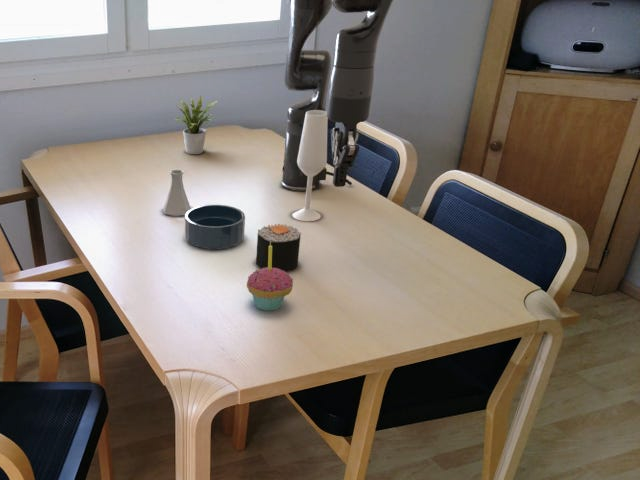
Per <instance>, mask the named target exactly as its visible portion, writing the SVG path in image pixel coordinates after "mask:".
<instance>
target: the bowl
mask: <svg viewBox="0 0 640 480" xmlns="http://www.w3.org/2000/svg"><path fill="white" fill-rule="evenodd" d="M245 229H246V215H245V213H244V212H243V211H242V210H241V209H239V208H237V207H235V206H230V205H225V204H205V205H199V206H196V207H193V208H191V210H189V211H188V212H187V213H186V214H185V215H184V237H185V240H186V241H187V242H188V243H189V244H191V245H193V246H195V247H199V248H203V249H211V250H220V249H221V250H222V249H226V248H231V247H234V246H237V245H239V244H240V243H242V242H243V240H244V238H245V231H246V230H245Z"/></svg>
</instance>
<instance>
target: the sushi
mask: <svg viewBox="0 0 640 480" xmlns="http://www.w3.org/2000/svg"><path fill="white" fill-rule="evenodd" d="M301 236H302V232H301V231H299V229H298V228H297V227H293V225H290V224H289V225H287V224H280V223H278V224H277V223H275V224H274V225H272V224H271V225H270V224H268V225H267V226H266V225H264V226H263V227H261V228H259V229H257V241H256V257H255V263H256V266H258V267H259V269H260V268H261V269H262V268H265V267H268V252H269V246H270V241H271V246H272V268H278V269H280V270H283V271H285V272H286V273H288V272H291V271H294V270H296V269H297V268H298V264H299V255H300V244H301Z"/></svg>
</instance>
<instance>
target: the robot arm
mask: <svg viewBox="0 0 640 480" xmlns="http://www.w3.org/2000/svg"><path fill="white" fill-rule="evenodd" d="M393 2H394V0H290V20H289V22H290V23H289V32H288V33H289V34H288V42H287V50H286V57H285V63H284V84H285V87H286V89H287V90H289V91H294V92H313V94H312V95H311V96H309V97H308V98H306V99H304V100H302V101H299V102H296V103H294V104H291V105H290V106H289V107H288V109H287V114H286V115H287V116H286V117H287V118H286V129H285V142H284V153H283V154H284V155H283V157H284V158H283V166H282V172H281V173H282V180H281V186H282V187H283V188H284V189H287V190H290V191H296V192H306V190H307V180H308V176H306V175H305V174H304V173H303V172H302V171H301V170H300V168H299V167H298V164H297V159H298V153H299V148H300V142H301V137H302V131H303V126H304V120H305V115H306V112H307V111H311V110H321V111H326V112H327V118H328V120H329V121H331V122H334V123H335V127H333V128H331V129H330V140H331V141H330V143H331V159H332V163H333V166H334V168H333V172H330V171H327V170H328V169H327V167H326V166H325V167H324V168H323V170H322V171H320V172H319V173H318V174H317V175H315V176H313V181H312V190H315V189H317V190H318V189H320V182H321V181H326V179H327V175H328V176H332V184H333V186H334V187H336V188H343V187H345V186H346V184H347V185H349V186H351V185H352V184H353V182H352V181H350V180H349V179H348V178H347V177H348V170H349V169H348V168H352V167H353V165H354V162H355V160H356V158H357V156H358V153H359V151H360V145H359V144H356V143H357V141H358V140H359V131H358V130H357V129H358V127H357V125H358V124H359V123H364V122H365V121H367V120H368V119H369V115H370V109H371V102H372V95H373V88H374V81H375V80H374V79H375V63H376V62H375V61H376V56H377V48H378V42H379V38H380V35H381V33H382V30H383V26H384V24H385V21H386V18H387V16H388V14H389V11H390V9H391V6H392V4H393ZM332 7H334V9H335V10H336V11H338V12H340V13H344V14H353V13H354V14H355V13H366V15H365V16H364V18H363V19H362V21H361V22H360V23H358V24H356V25H352V26H350V27H346V28H343V29H341V30H340V31H339V32H338V33H337V36H336V39H335V47H334V59H333V66H332V56H331V52H330V50H326V49H303V48H304V45H305V44H306V43H307V40H308V39H309V37H310V36H311V34H312V33H313V32H314V31H315V29H317V28H318V26H319V25H320V24H321V23H322V21H323V20H324V19H325V18H326V17H327V16H328V14H329V12H330V11H331V9H332ZM331 71H332V72H331ZM328 89H329V91H328ZM327 95H328V96H327ZM327 97H328V99H327ZM326 105H327V108H326Z"/></svg>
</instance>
